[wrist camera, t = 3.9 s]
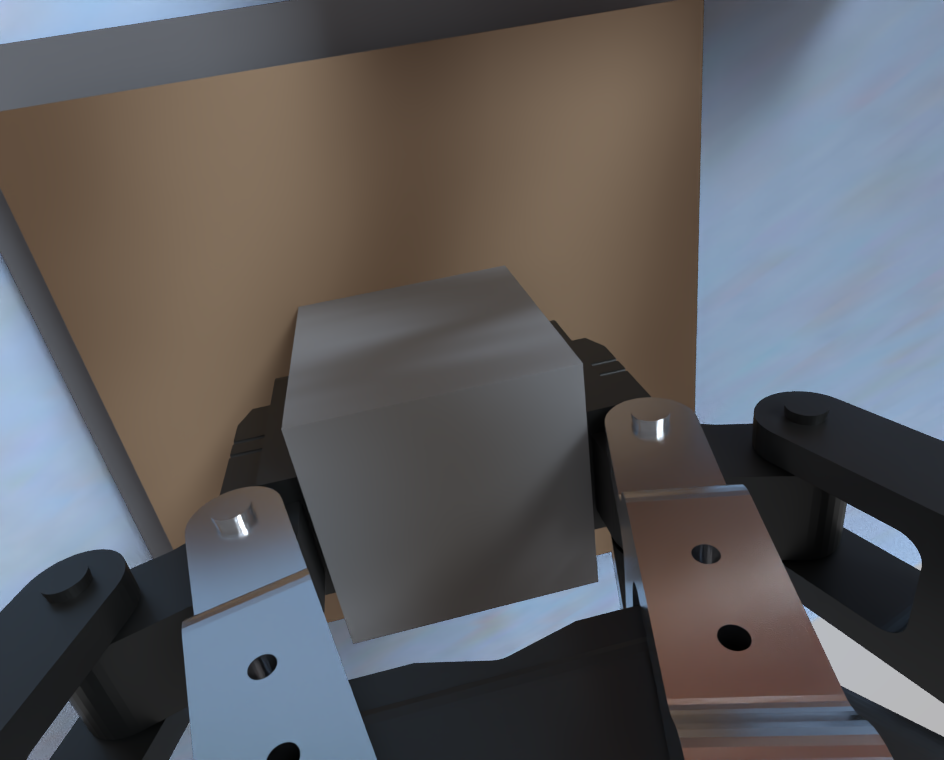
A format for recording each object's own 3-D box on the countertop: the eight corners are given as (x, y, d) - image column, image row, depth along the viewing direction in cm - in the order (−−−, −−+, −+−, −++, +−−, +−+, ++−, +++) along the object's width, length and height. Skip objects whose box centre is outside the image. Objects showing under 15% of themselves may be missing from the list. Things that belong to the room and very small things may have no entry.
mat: (688, -58, 13) (703, -64, 12) (681, 505, 19) (690, 518, 19) (-76, 58, 11) (-96, 59, 11) (199, 625, 18) (195, 643, 17)
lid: (677, -1, 12) (907, -35, 7) (674, 507, 18) (802, 679, 13) (-4, 111, 11) (-277, 161, 6) (227, 617, 16) (182, 851, 12)
